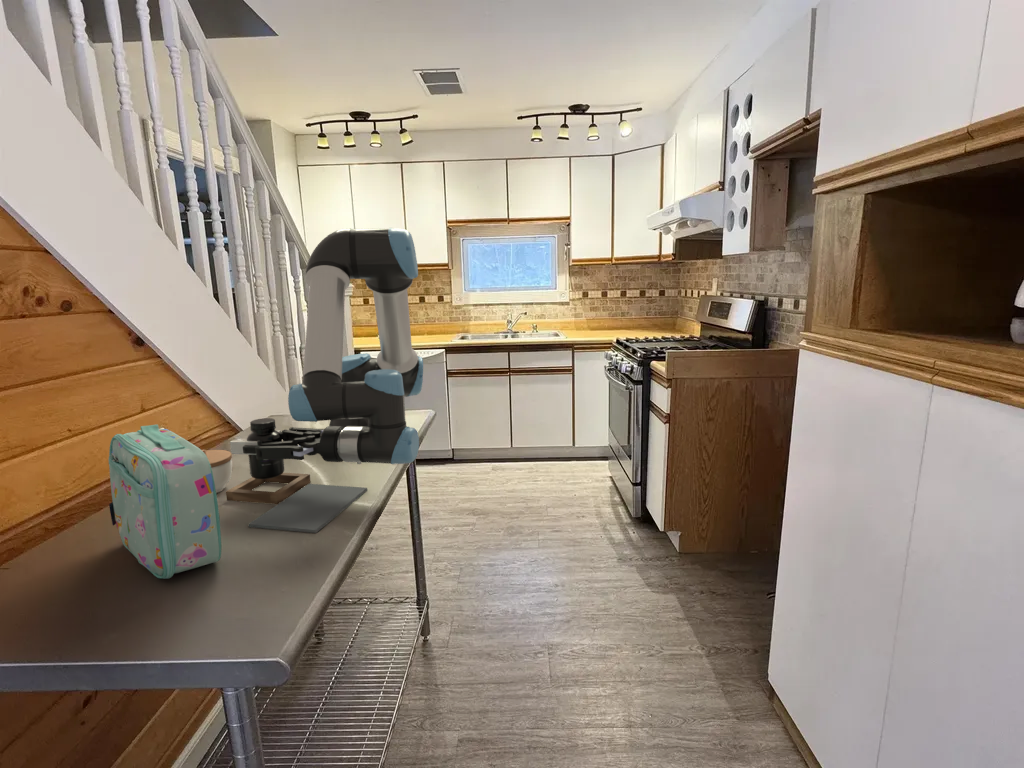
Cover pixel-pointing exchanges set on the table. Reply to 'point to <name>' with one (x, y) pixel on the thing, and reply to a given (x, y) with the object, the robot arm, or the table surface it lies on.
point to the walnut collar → (248, 495)
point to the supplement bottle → (266, 434)
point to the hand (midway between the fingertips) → (242, 441)
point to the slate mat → (309, 508)
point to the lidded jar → (220, 467)
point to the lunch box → (164, 501)
